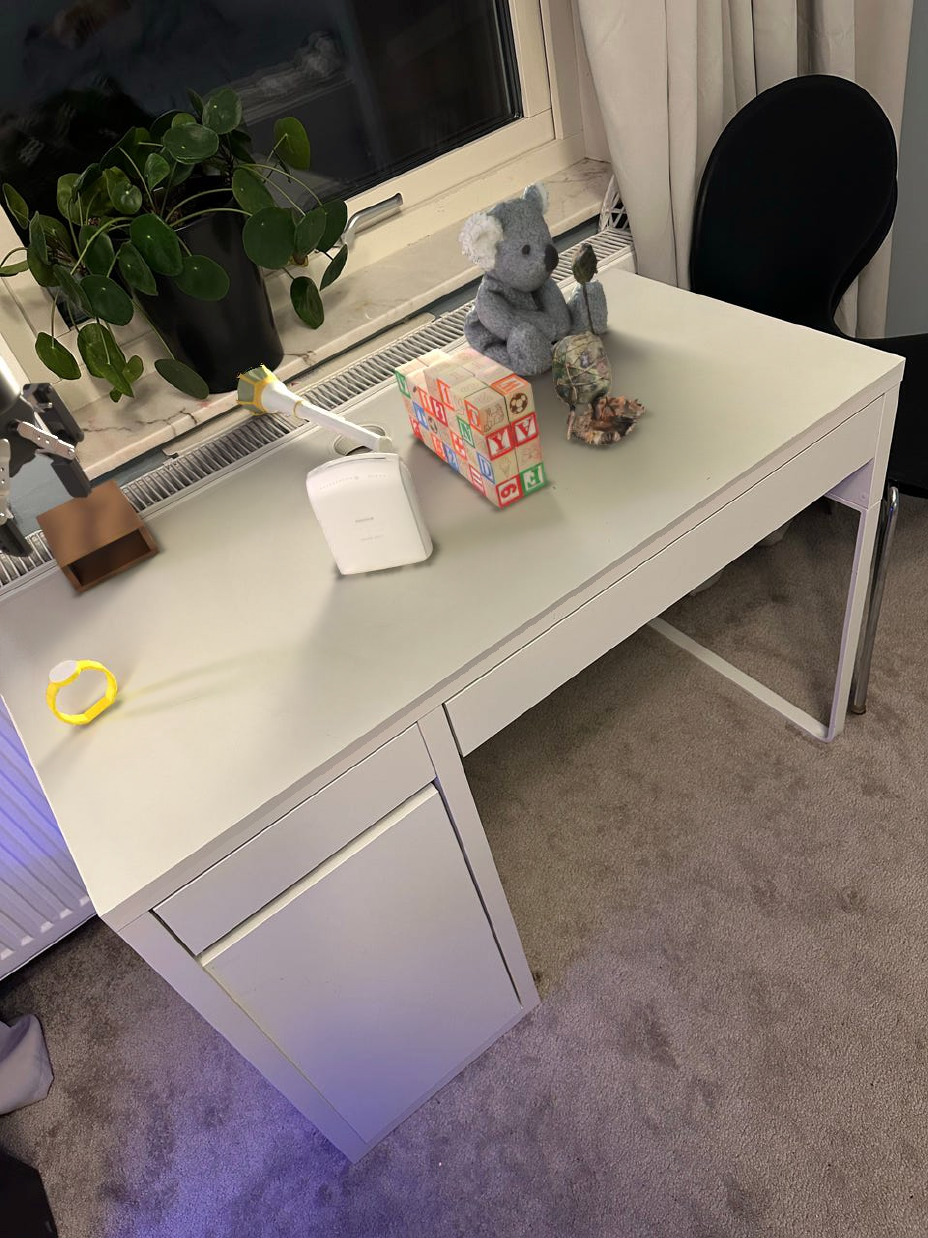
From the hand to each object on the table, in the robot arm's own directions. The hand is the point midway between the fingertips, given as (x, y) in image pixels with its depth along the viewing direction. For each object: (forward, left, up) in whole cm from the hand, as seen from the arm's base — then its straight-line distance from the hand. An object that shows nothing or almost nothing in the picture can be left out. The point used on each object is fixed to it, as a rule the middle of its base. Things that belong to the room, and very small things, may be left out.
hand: (53, 524), depth 76 cm
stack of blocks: (+43, 0, -16) cm, 46 cm away
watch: (-6, -6, -16) cm, 18 cm away
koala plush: (+64, +18, -16) cm, 68 cm away
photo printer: (+26, -8, -16) cm, 31 cm away
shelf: (+2, +21, -16) cm, 26 cm away
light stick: (+33, +24, -16) cm, 43 cm away
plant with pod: (+56, -7, -16) cm, 58 cm away
